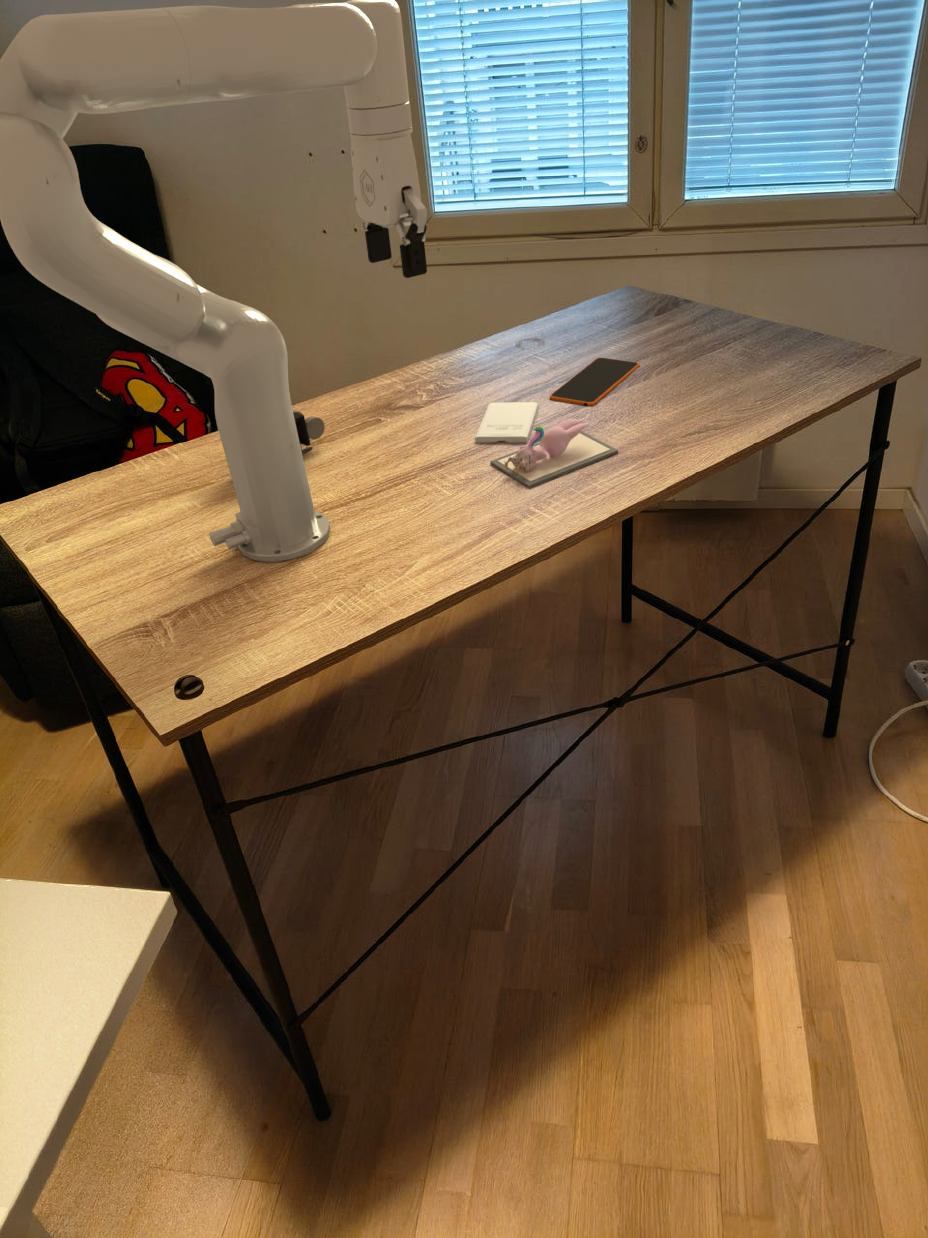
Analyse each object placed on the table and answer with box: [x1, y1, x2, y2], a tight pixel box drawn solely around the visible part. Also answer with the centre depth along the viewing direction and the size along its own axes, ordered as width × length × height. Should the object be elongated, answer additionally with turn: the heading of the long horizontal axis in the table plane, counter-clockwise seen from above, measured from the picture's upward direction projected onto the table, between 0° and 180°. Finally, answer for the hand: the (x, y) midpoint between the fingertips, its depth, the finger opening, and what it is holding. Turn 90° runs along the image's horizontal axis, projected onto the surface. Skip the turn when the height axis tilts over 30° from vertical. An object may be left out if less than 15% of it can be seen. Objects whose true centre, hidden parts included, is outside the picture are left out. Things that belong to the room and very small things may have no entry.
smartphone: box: [549, 357, 641, 407], centre depth 162 cm, size 8×18×1 cm, turn 147°
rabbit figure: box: [504, 418, 590, 477], centre depth 138 cm, size 6×6×15 cm
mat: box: [489, 430, 619, 489], centre depth 141 cm, size 16×10×1 cm, turn 122°
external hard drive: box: [474, 401, 539, 443], centre depth 152 cm, size 2×8×12 cm
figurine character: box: [292, 409, 326, 454], centre depth 148 cm, size 7×8×15 cm
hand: (397, 267), depth 124 cm, fingers open, 9 cm apart
